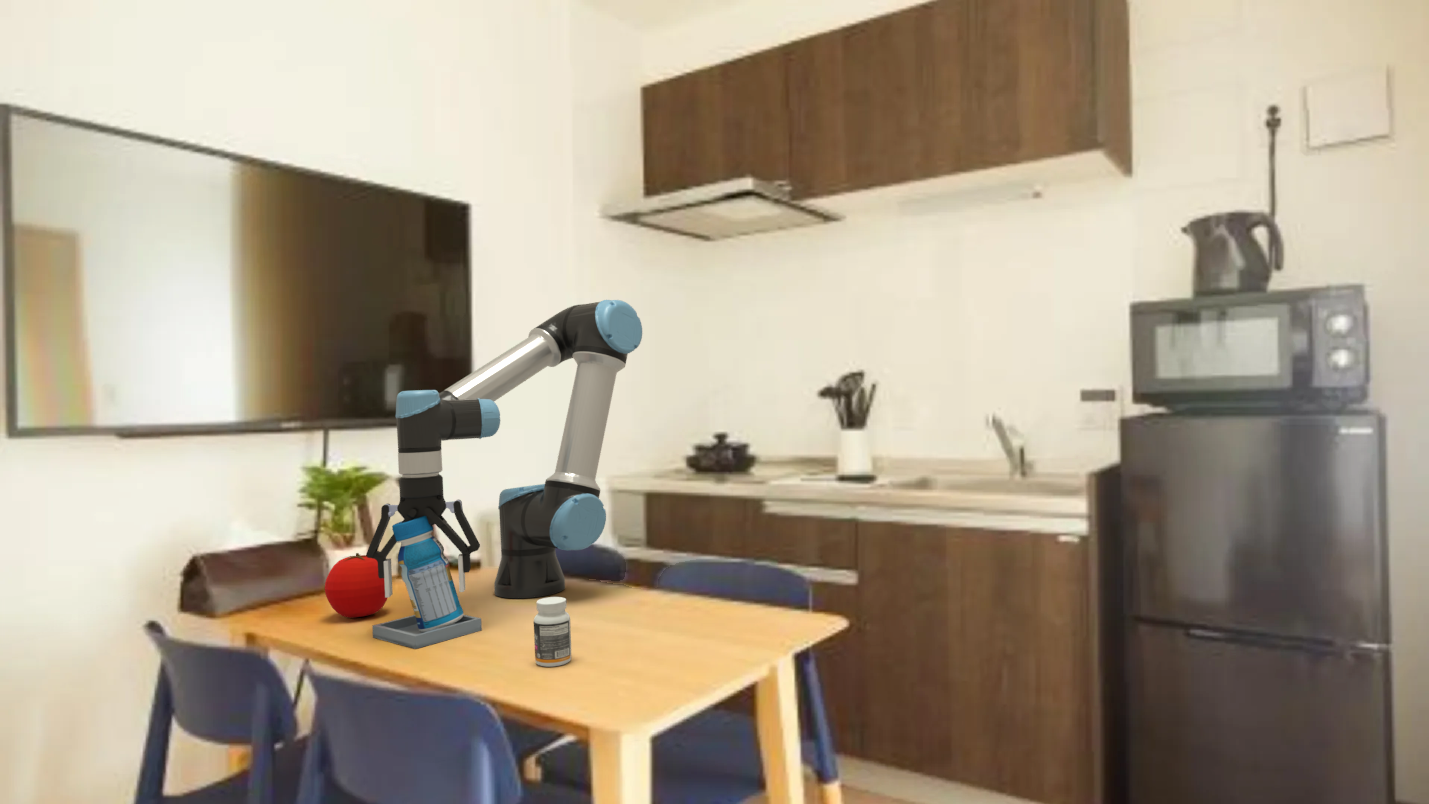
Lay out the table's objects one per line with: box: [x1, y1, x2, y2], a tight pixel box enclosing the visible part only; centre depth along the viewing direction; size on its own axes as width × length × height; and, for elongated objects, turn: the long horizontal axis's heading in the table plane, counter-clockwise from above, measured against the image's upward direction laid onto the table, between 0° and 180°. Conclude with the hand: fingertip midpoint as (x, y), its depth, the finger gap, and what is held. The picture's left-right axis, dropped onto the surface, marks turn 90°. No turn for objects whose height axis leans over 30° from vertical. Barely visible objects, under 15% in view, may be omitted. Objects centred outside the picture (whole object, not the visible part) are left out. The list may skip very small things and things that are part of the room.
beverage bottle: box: [391, 516, 465, 632], centre depth 159 cm, size 8×8×20 cm
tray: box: [372, 614, 483, 650], centre depth 159 cm, size 14×14×2 cm
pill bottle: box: [533, 596, 572, 668], centre depth 139 cm, size 6×6×10 cm
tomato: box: [324, 552, 389, 619], centre depth 174 cm, size 12×12×13 cm
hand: (425, 593), depth 159 cm, fingers open, 12 cm apart
